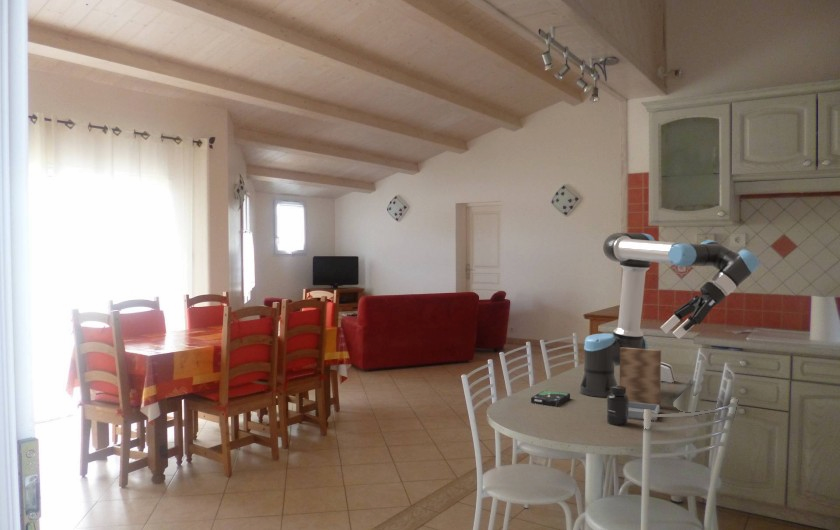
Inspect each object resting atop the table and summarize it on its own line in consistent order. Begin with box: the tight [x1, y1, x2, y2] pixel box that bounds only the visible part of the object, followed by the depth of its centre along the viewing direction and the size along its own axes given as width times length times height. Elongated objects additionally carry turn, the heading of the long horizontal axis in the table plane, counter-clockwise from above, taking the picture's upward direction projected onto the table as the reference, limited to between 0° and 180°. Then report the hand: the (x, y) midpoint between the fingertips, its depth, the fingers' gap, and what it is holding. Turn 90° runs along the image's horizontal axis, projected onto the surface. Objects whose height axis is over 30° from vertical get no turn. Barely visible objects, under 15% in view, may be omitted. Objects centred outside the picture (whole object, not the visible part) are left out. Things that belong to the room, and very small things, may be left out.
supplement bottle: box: [606, 385, 629, 427], centre depth 201 cm, size 7×7×12 cm
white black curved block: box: [661, 361, 676, 383], centre depth 270 cm, size 17×5×10 cm, turn 53°
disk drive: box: [530, 390, 571, 408], centre depth 230 cm, size 10×3×15 cm
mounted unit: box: [619, 347, 662, 410], centre depth 225 cm, size 14×6×21 cm, turn 64°
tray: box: [628, 402, 660, 422], centre depth 212 cm, size 14×14×2 cm
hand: (669, 333), depth 202 cm, fingers open, 13 cm apart
